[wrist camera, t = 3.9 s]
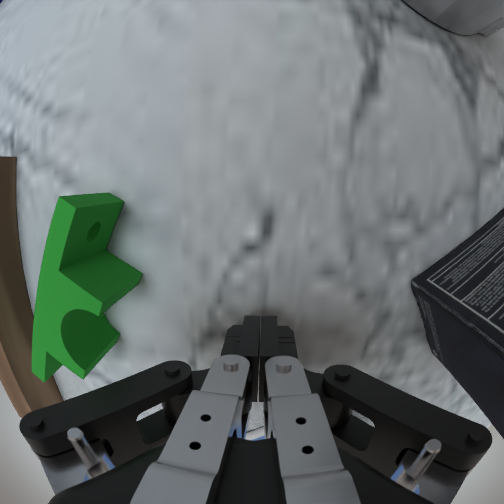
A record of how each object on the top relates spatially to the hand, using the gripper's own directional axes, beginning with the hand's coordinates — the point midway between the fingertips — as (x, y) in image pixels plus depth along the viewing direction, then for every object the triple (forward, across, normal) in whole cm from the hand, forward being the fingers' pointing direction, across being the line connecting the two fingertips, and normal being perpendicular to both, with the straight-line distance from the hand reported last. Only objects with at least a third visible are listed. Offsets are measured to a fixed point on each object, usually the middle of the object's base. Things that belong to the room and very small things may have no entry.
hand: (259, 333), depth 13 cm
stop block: (+2, +18, 0) cm, 18 cm away
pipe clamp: (+2, +9, -1) cm, 10 cm away
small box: (+2, -14, -2) cm, 14 cm away
